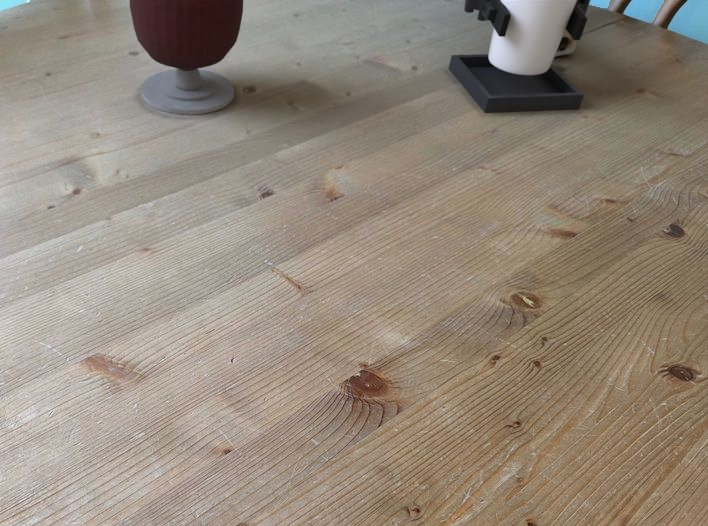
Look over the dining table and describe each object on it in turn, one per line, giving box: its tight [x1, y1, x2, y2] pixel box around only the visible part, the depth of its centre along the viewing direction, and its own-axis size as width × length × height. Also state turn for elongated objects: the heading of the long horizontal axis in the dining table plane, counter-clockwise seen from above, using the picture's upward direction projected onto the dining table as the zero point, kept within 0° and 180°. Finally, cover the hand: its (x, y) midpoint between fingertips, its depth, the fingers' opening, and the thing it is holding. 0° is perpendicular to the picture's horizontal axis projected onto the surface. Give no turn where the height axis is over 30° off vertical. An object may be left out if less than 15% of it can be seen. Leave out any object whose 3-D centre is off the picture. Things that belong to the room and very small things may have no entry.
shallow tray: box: [448, 53, 585, 113], centre depth 104 cm, size 14×14×2 cm
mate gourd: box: [128, 0, 244, 116], centre depth 92 cm, size 16×14×20 cm
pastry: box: [554, 29, 578, 58], centre depth 115 cm, size 9×7×4 cm
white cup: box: [487, 0, 577, 75], centre depth 98 cm, size 10×10×12 cm
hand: (542, 27), depth 95 cm, fingers closed on white cup, 9 cm apart
